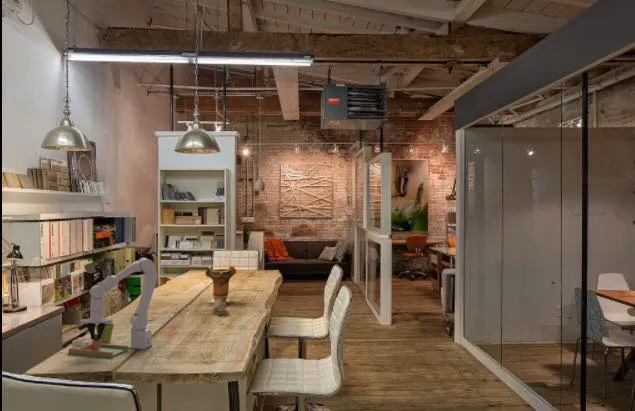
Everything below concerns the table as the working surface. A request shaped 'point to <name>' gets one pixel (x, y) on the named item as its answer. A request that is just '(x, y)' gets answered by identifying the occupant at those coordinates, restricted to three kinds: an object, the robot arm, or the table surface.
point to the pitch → (101, 351)
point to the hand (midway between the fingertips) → (96, 339)
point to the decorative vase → (220, 282)
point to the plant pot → (106, 333)
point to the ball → (85, 344)
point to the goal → (79, 343)
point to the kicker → (95, 343)
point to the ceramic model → (219, 308)
